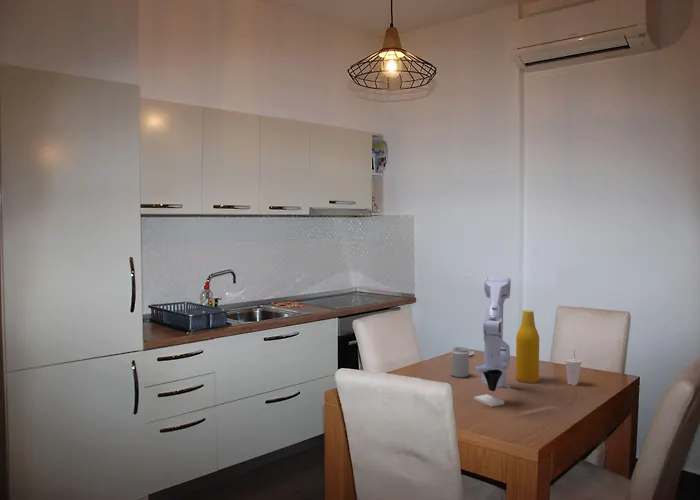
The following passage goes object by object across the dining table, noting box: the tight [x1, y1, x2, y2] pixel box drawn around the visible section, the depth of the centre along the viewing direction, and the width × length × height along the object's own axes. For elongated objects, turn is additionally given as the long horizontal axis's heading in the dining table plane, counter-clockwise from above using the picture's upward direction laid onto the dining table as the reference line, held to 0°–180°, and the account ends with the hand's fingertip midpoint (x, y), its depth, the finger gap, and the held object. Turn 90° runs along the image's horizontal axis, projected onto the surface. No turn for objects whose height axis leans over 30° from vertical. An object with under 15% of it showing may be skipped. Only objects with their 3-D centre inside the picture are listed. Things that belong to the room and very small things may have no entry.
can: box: [450, 346, 470, 379], centre depth 246 cm, size 8×8×12 cm
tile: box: [473, 393, 505, 408], centre depth 207 cm, size 9×2×6 cm
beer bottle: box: [515, 310, 540, 384], centre depth 239 cm, size 9×9×29 cm
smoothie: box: [564, 349, 582, 386], centre depth 234 cm, size 6×6×14 cm
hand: (492, 390), depth 209 cm, fingers closed
